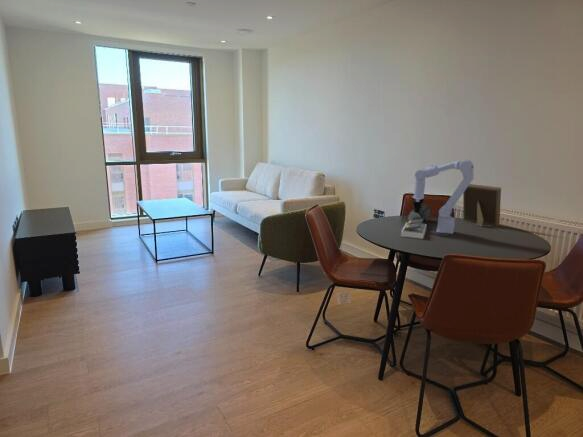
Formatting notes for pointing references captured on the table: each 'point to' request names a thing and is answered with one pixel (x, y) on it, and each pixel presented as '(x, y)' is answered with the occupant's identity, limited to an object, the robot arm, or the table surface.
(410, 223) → the far rocker
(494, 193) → the photo frame
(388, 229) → the table surface
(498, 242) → the table surface
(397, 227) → the table surface
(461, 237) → the table surface
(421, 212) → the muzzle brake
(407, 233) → the switch panel
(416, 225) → the near rocker
